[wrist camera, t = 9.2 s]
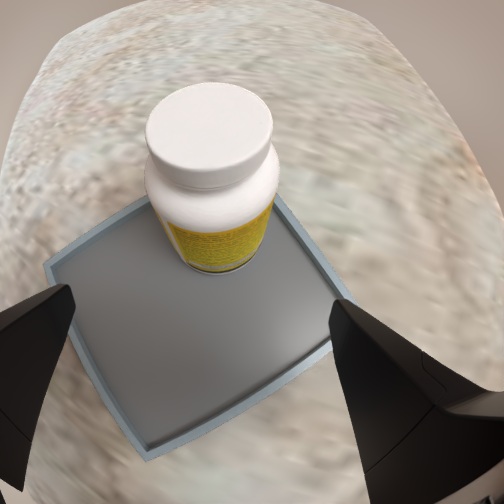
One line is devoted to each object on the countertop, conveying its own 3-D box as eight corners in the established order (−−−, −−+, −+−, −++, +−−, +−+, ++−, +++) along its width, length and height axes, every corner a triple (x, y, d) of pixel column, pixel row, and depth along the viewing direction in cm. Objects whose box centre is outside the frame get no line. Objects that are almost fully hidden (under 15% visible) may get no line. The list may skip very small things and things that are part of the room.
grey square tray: (159, 442, 17) (145, 462, 13) (69, 277, 21) (42, 264, 17) (343, 324, 22) (368, 319, 18) (237, 177, 25) (239, 147, 21)
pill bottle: (279, 230, 20) (327, 120, 9) (220, 296, 18) (209, 231, 8) (215, 180, 21) (210, 57, 10) (156, 236, 19) (95, 131, 9)
